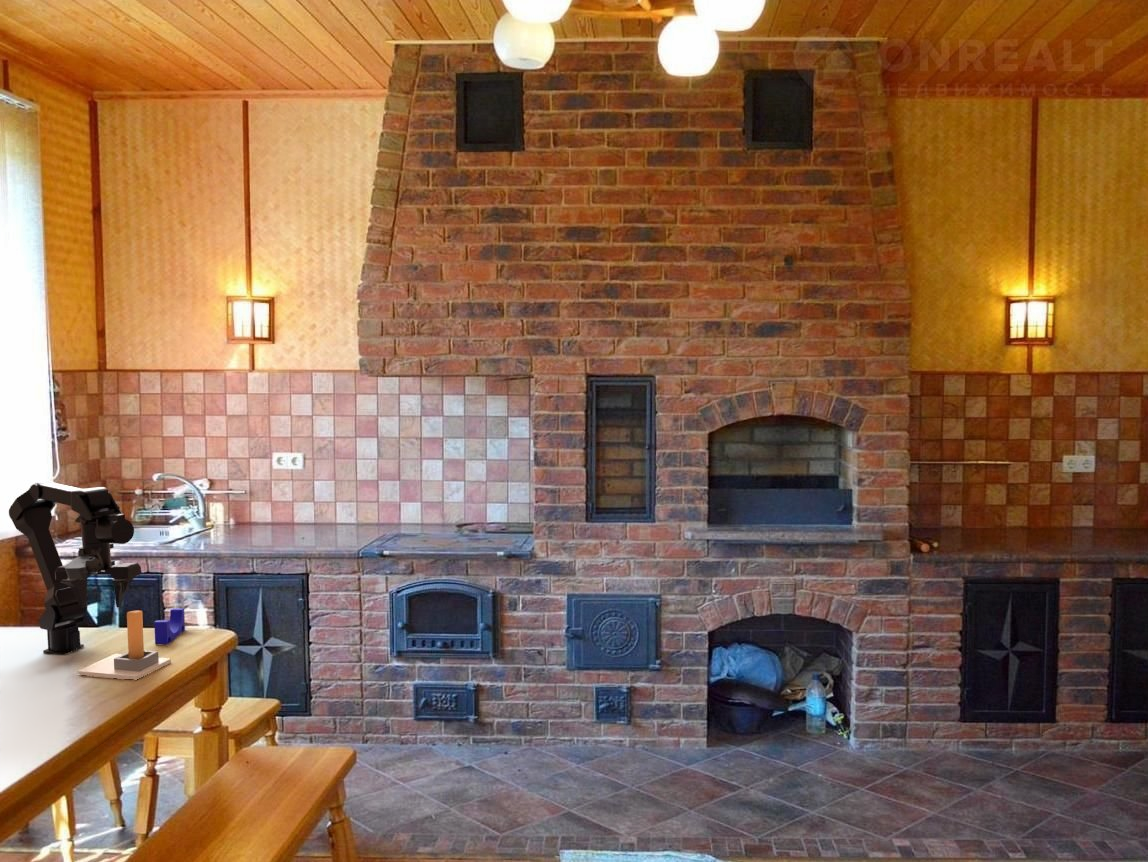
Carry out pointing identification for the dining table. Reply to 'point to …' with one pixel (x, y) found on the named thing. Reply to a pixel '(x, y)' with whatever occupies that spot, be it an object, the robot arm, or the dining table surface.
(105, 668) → the keeper plate
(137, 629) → the toggle bar
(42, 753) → the dining table surface
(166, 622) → the cable clip
